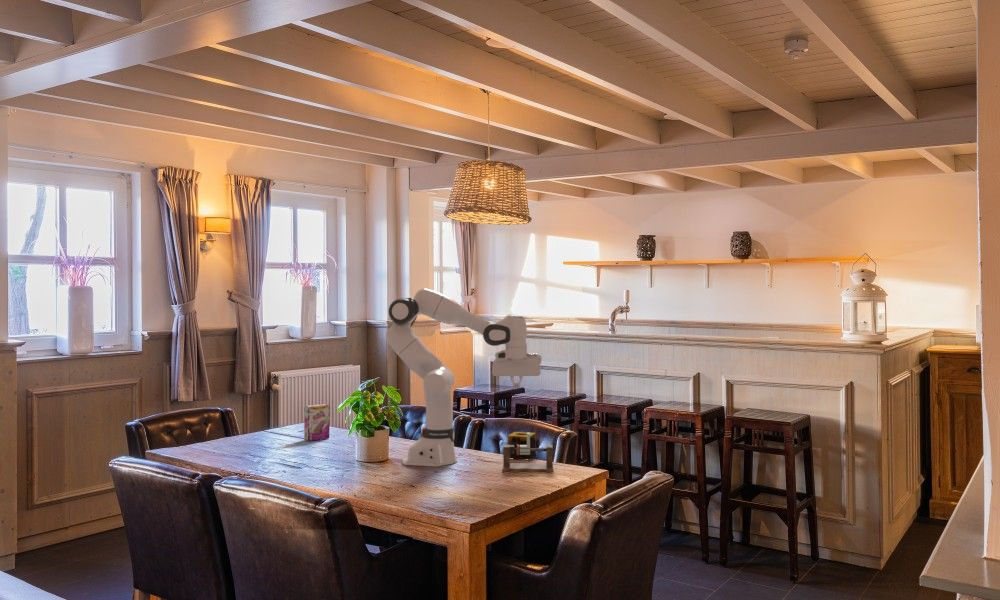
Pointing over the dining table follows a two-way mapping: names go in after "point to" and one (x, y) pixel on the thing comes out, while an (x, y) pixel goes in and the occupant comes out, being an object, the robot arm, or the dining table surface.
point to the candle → (521, 439)
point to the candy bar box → (316, 422)
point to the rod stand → (527, 466)
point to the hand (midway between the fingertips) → (516, 386)
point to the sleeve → (526, 446)
